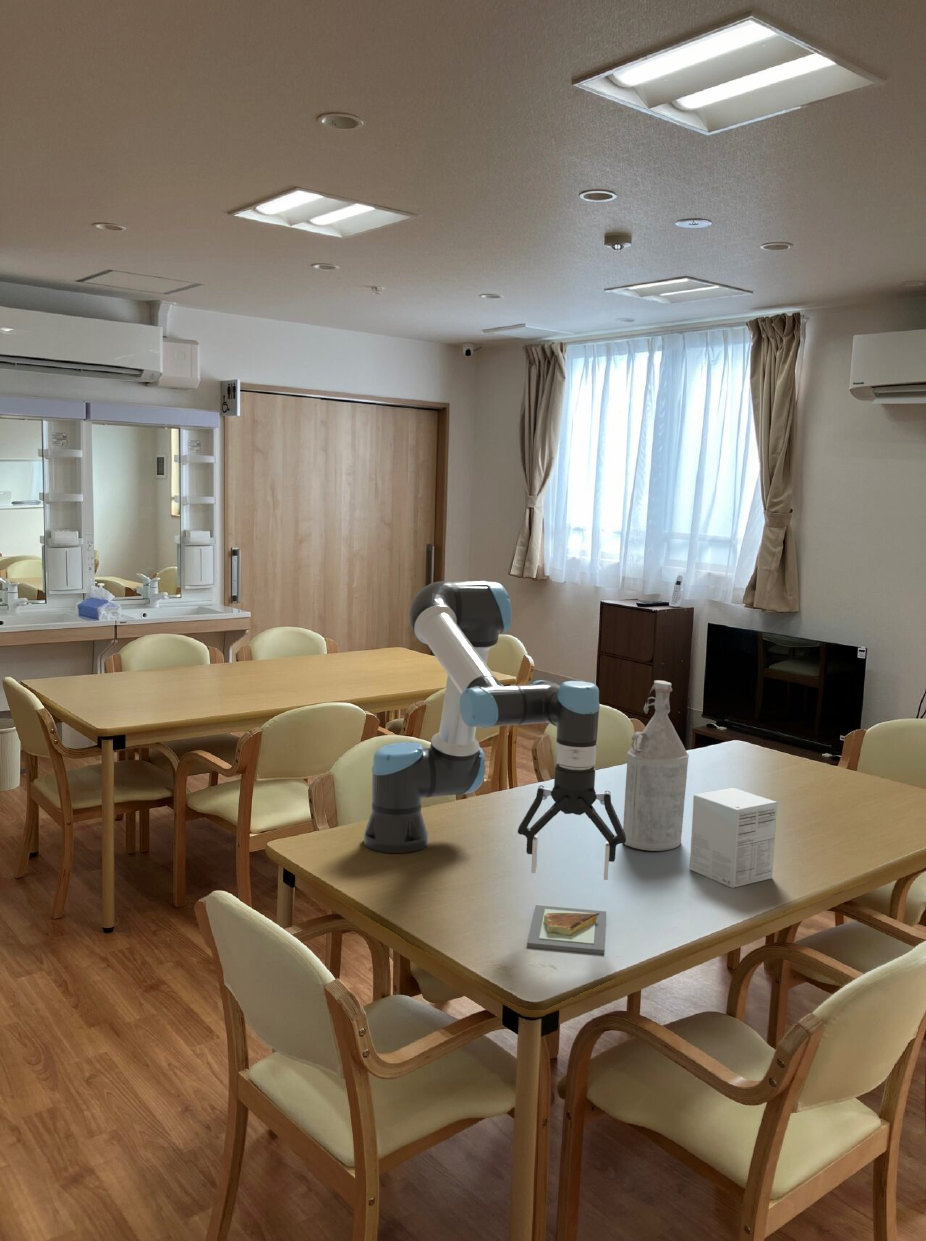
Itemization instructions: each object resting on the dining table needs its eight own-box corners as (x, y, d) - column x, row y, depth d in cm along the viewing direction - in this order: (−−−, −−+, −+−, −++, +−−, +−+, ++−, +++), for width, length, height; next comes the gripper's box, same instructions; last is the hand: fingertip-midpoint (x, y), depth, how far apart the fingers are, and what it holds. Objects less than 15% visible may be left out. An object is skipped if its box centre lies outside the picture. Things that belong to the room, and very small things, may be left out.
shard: (599, 920, 195) (599, 911, 195) (606, 937, 187) (607, 927, 187) (543, 919, 194) (543, 910, 194) (548, 936, 187) (549, 927, 186)
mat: (527, 946, 184) (527, 941, 184) (535, 908, 202) (535, 904, 202) (604, 954, 182) (604, 948, 182) (606, 915, 200) (606, 910, 200)
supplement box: (774, 878, 223) (779, 801, 221) (732, 889, 216) (737, 809, 214) (729, 860, 234) (733, 786, 232) (687, 869, 227) (692, 793, 225)
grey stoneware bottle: (607, 843, 244) (615, 680, 239) (653, 829, 255) (661, 674, 251) (649, 857, 234) (658, 689, 230) (694, 843, 245) (703, 682, 241)
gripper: (506, 764, 187) (501, 874, 189) (643, 775, 183) (636, 887, 186) (511, 754, 194) (506, 860, 197) (642, 764, 190) (636, 872, 193)
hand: (569, 873), depth 191 cm, fingers open, 13 cm apart
